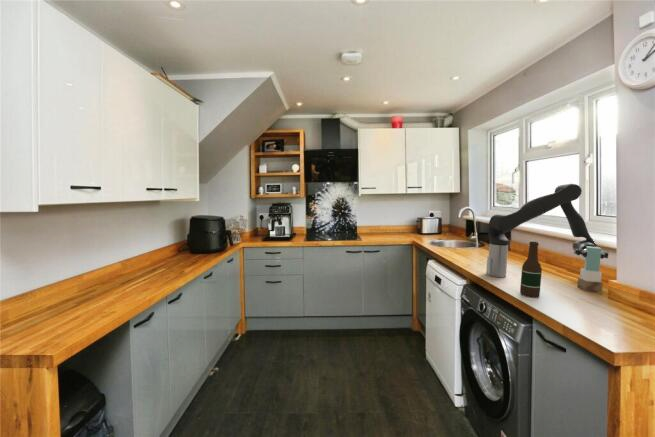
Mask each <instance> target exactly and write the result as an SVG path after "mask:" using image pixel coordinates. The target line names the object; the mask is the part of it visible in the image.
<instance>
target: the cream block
mask: <svg viewBox="0 0 655 437" xmlns="http://www.w3.org/2000/svg"><path fill="white" fill-rule="evenodd" d="M602 275H603V271H601V270H599V272H596V271H588V270H585V269H584V267H581V268H580V274H579V278H581V279H583V280H585V281H590V282H602Z"/></svg>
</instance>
